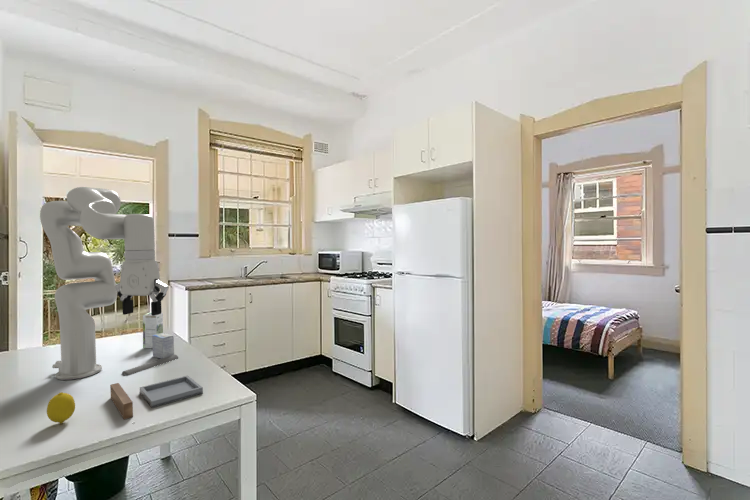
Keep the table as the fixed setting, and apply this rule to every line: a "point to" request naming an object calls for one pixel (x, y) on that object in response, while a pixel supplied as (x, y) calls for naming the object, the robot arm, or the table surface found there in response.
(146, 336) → the syrup box
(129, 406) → the walnut wall
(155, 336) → the medicine box
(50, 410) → the lemon
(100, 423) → the table surface
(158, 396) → the gray tray
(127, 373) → the half round rod
